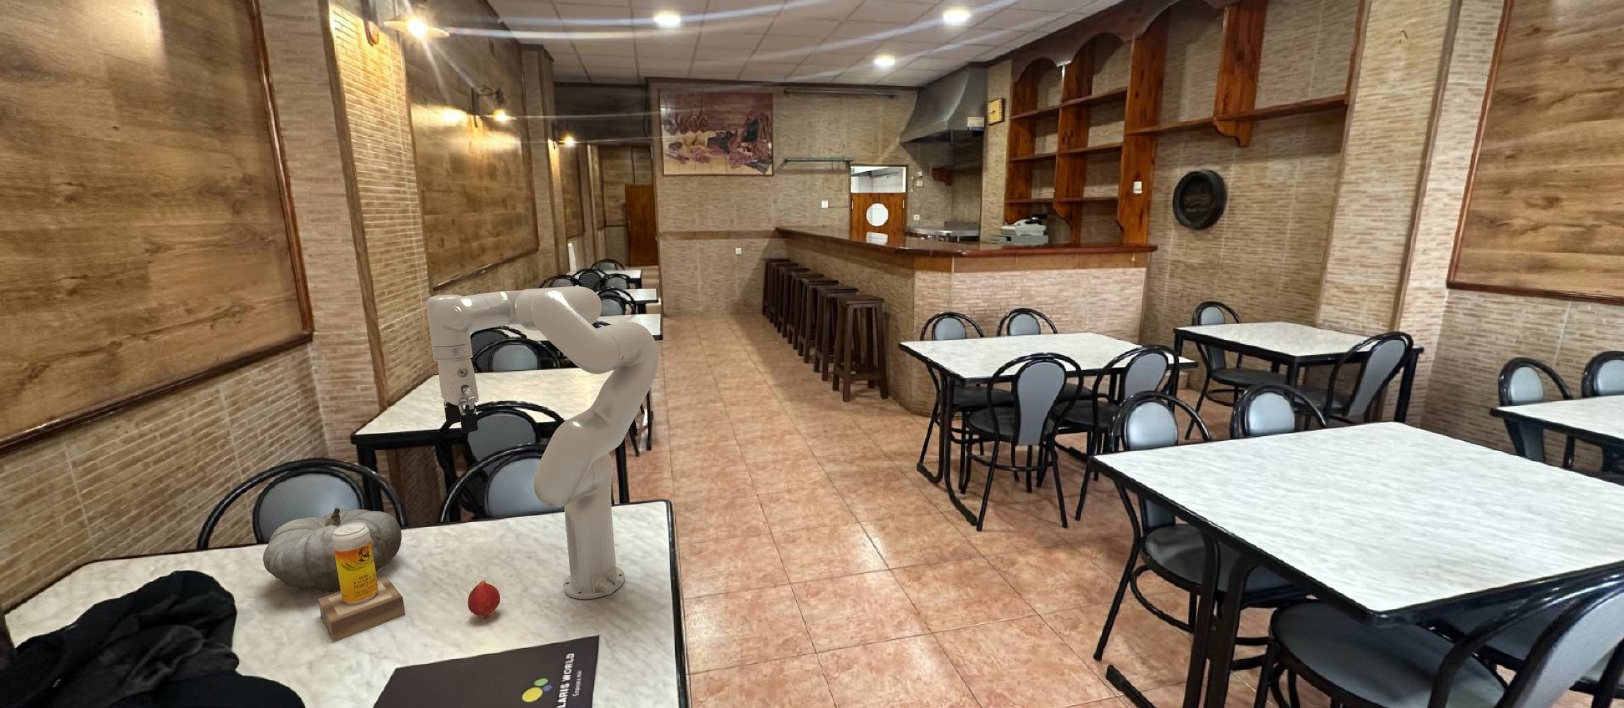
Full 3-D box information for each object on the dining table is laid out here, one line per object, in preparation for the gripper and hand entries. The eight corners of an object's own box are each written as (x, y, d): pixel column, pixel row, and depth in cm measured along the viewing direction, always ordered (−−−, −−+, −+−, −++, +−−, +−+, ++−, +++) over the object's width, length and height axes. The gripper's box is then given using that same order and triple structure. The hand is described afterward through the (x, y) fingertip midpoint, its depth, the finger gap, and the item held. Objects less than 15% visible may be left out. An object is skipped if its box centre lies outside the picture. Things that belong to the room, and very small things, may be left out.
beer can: (361, 607, 131) (349, 536, 128) (335, 604, 132) (322, 534, 129) (386, 590, 136) (375, 522, 133) (361, 587, 138) (350, 520, 135)
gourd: (333, 605, 134) (316, 522, 133) (239, 612, 140) (222, 532, 139) (430, 557, 158) (416, 486, 157) (346, 564, 164) (332, 496, 163)
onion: (470, 628, 130) (465, 591, 128) (469, 613, 135) (465, 577, 133) (502, 619, 133) (498, 583, 131) (501, 605, 138) (496, 570, 136)
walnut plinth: (405, 614, 135) (402, 596, 134) (334, 641, 127) (331, 622, 126) (388, 592, 143) (385, 575, 142) (321, 616, 135) (317, 598, 134)
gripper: (485, 354, 141) (494, 431, 145) (457, 344, 153) (466, 416, 156) (447, 359, 136) (457, 439, 139) (420, 349, 148) (431, 423, 151)
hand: (462, 427), depth 148 cm, fingers open, 9 cm apart
